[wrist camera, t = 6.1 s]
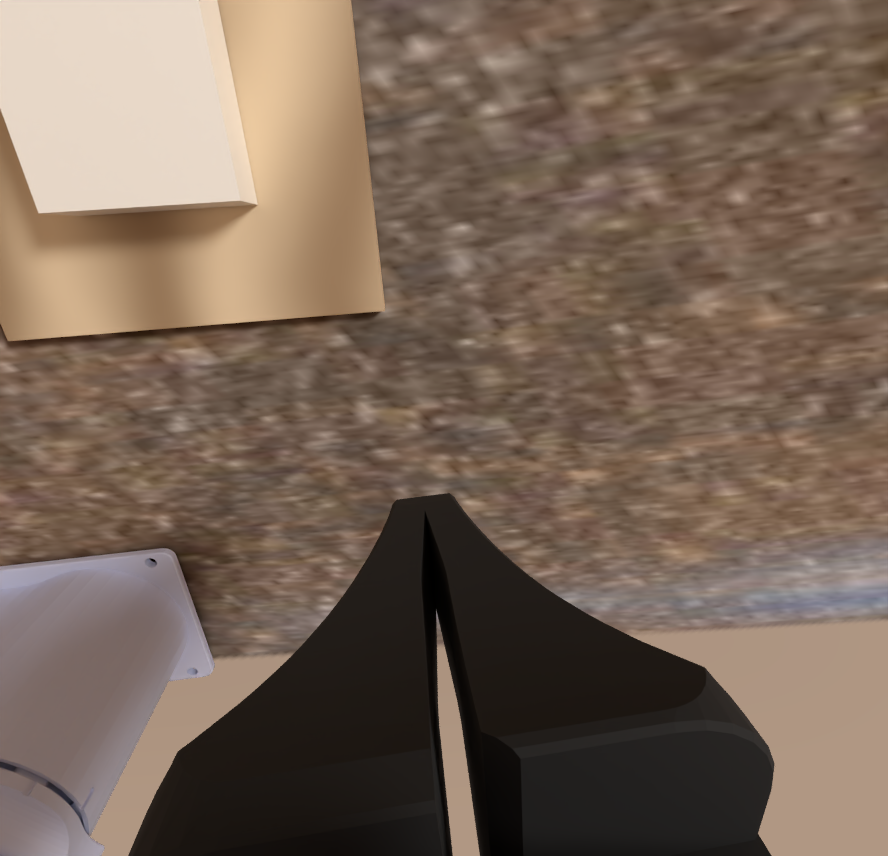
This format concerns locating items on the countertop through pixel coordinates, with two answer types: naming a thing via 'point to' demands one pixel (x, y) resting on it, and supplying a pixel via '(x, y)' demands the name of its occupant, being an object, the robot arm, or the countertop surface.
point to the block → (122, 106)
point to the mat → (221, 228)
